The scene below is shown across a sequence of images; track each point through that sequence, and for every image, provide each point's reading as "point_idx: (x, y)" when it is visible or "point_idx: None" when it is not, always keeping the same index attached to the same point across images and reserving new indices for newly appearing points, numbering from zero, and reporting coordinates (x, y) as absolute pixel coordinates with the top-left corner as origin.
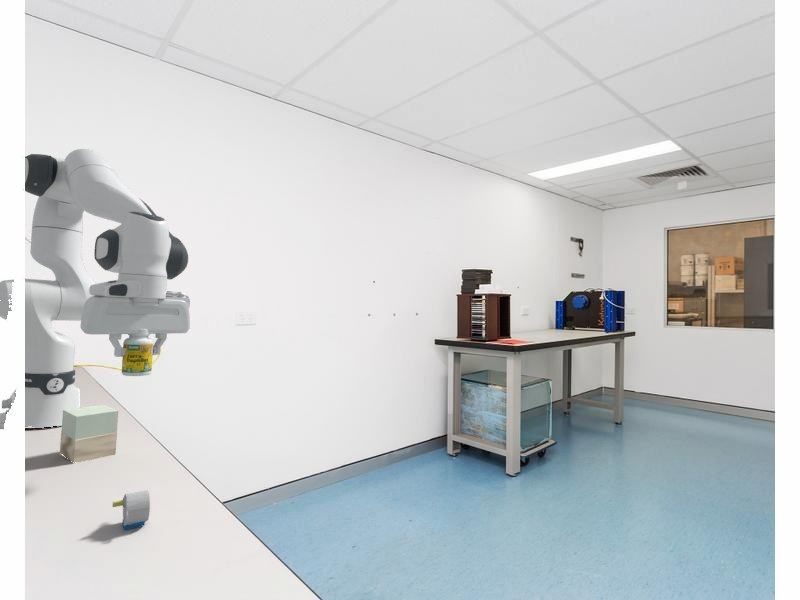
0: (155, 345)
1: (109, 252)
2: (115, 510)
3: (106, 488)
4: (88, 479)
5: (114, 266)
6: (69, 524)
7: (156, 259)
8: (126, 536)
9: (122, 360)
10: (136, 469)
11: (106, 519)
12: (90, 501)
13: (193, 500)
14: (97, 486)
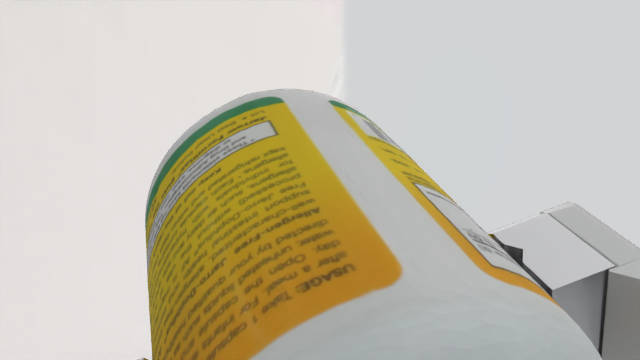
0: (617, 316)
1: None
2: (120, 311)
3: (99, 156)
4: (35, 38)
5: None
6: (12, 346)
7: None
8: None
9: (149, 309)
10: (209, 16)
11: (98, 349)
12: (54, 235)
13: None
14: (70, 125)
